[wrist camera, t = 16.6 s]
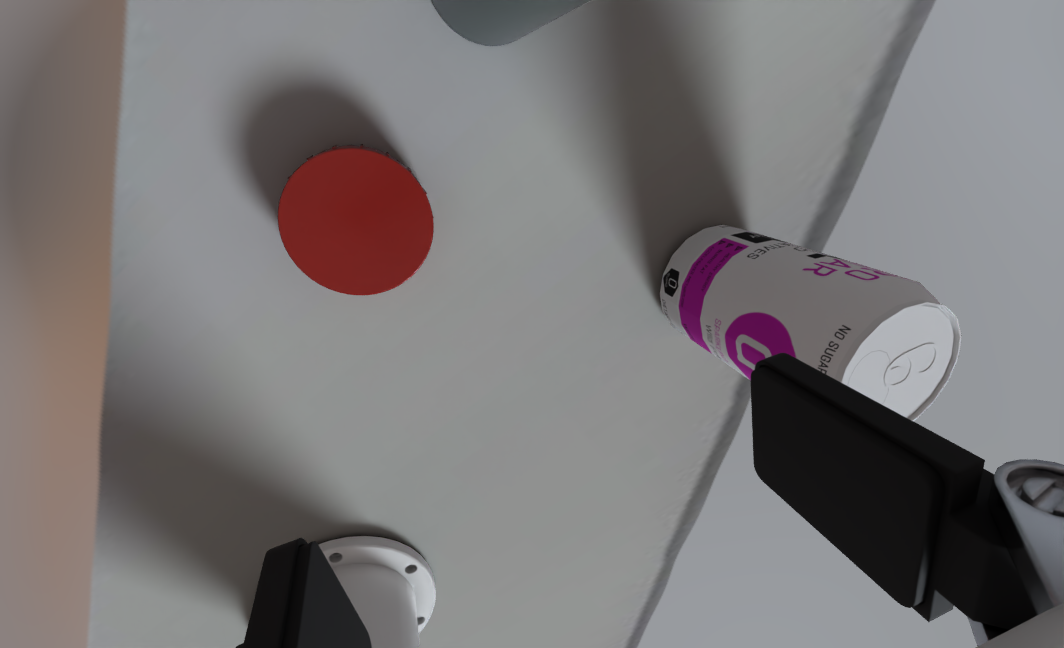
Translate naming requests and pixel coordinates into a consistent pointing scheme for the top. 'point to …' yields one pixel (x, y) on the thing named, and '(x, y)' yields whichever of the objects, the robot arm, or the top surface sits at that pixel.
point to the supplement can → (811, 315)
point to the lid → (355, 220)
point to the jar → (501, 17)
